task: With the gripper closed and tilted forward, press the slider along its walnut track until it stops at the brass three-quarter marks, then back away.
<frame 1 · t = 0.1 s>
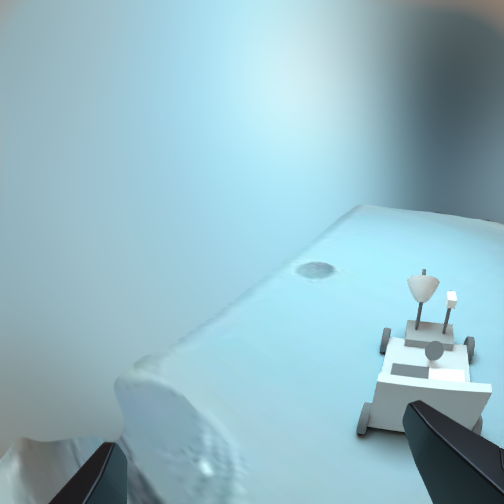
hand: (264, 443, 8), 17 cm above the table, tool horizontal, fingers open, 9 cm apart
toy car: (422, 383, 29), on the table
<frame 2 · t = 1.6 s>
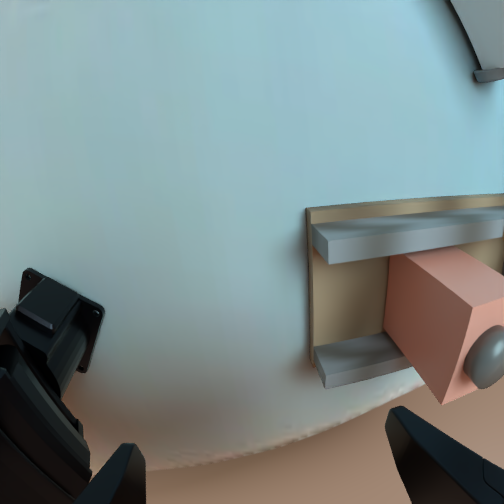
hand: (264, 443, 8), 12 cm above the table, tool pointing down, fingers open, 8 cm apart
track: (426, 272, 21), on the table
slider: (450, 317, 15), point 6 cm above the table, slide at 0.0 cm
toy car: (497, 6, 14), on the table
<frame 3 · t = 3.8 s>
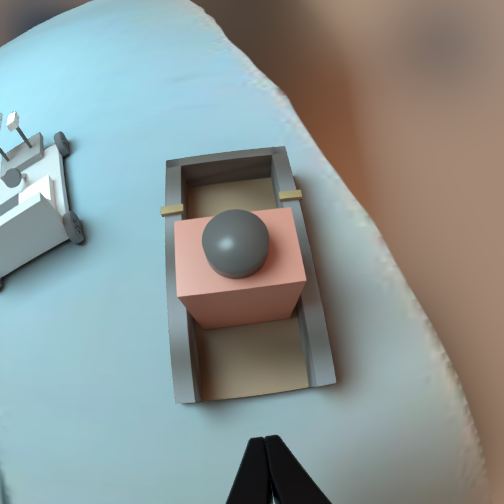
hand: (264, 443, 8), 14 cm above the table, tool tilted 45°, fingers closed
track: (240, 276, 25), on the table
slider: (239, 274, 18), point 6 cm above the table, slide at 0.0 cm
toy car: (33, 203, 29), on the table
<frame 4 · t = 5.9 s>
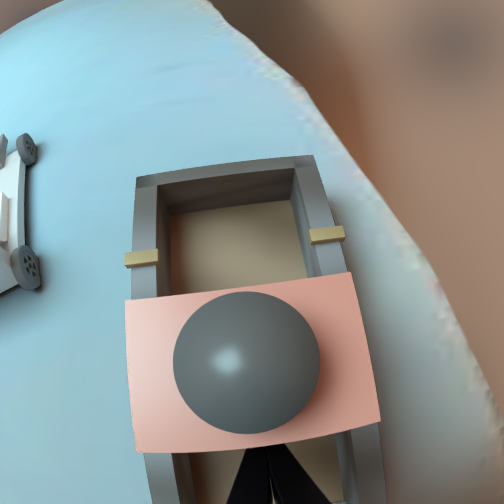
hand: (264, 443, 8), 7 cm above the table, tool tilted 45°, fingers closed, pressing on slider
track: (248, 350, 16), on the table
slider: (250, 374, 10), point 6 cm above the table, slide at 0.4 cm, touching gripper
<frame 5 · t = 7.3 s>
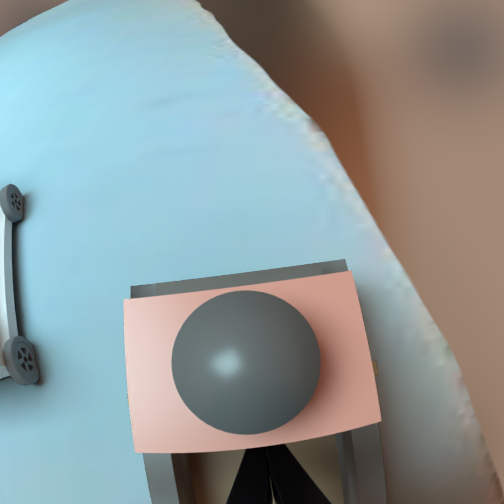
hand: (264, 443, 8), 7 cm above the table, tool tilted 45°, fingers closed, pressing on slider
track: (264, 463, 14), on the table
slider: (249, 373, 10), point 6 cm above the table, slide at 6.6 cm, touching gripper
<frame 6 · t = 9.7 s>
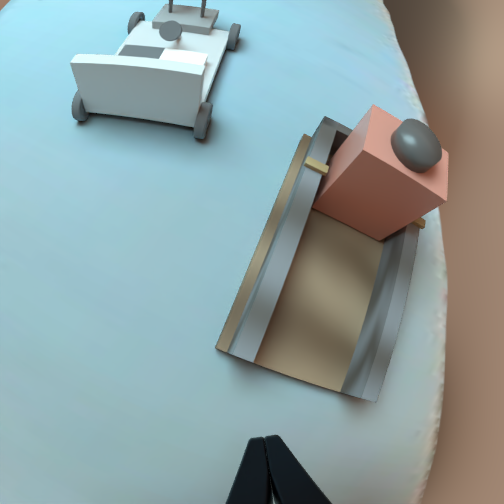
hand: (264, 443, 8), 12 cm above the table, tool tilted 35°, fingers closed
track: (330, 259, 24), on the table
slider: (382, 176, 20), point 6 cm above the table, slide at 6.7 cm
toy car: (168, 66, 27), on the table
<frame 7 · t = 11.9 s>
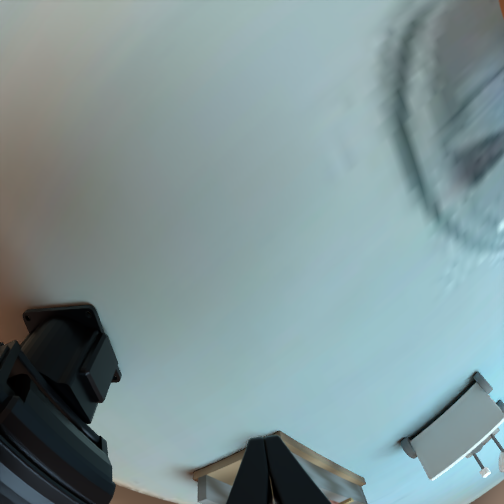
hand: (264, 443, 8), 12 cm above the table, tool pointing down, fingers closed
track: (288, 480, 28), on the table
toy car: (460, 420, 30), on the table
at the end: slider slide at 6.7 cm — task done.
